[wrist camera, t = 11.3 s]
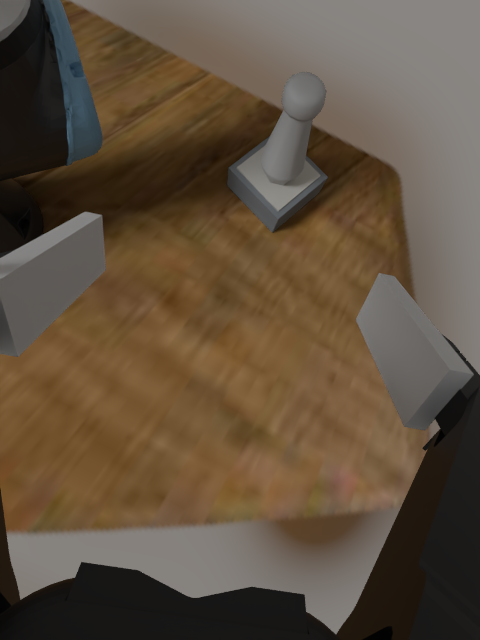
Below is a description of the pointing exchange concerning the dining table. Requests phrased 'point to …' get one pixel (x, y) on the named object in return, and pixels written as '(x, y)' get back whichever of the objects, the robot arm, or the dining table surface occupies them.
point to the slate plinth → (272, 188)
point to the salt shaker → (293, 128)
